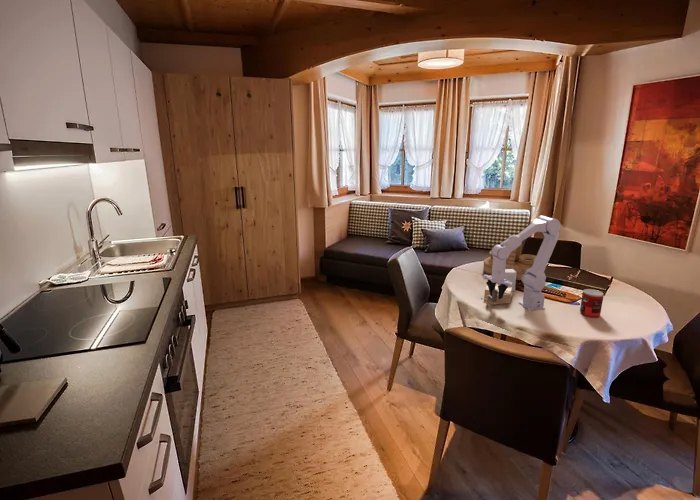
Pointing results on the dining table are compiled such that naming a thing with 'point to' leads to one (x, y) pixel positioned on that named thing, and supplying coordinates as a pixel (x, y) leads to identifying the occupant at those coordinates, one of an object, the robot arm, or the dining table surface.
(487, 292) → the carton
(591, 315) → the canned food
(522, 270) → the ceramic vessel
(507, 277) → the small box
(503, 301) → the tan cardboard box
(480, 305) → the dining table surface
